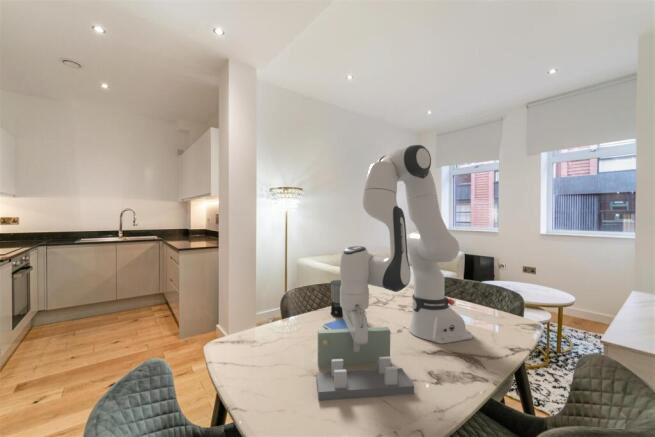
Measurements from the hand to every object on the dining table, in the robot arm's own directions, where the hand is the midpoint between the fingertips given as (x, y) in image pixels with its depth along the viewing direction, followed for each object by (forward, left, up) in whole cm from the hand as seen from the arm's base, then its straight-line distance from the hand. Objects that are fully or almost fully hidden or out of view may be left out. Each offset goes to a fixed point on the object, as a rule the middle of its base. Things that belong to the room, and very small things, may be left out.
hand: (353, 345), depth 82 cm
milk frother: (-6, -43, -5) cm, 44 cm away
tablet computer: (-3, -23, -6) cm, 24 cm away
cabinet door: (0, 0, -5) cm, 5 cm away
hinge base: (0, +12, -5) cm, 13 cm away
